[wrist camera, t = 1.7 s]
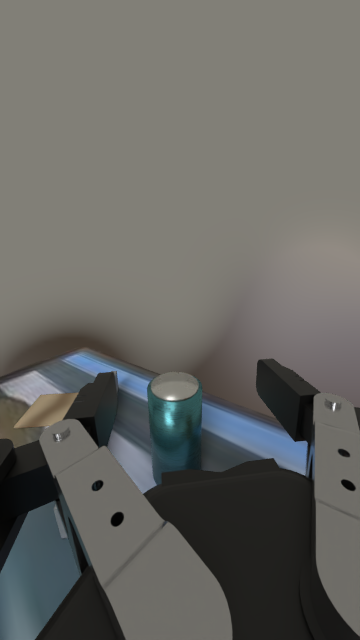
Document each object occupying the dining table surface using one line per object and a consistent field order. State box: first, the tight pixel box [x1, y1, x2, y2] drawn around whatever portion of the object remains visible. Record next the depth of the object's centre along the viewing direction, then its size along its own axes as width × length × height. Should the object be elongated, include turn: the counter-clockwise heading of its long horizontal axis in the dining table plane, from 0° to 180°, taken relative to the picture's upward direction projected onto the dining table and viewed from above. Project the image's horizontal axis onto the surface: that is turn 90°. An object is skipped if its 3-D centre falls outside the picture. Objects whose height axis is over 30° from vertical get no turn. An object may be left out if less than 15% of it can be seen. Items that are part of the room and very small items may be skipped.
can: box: [147, 372, 202, 485], centre depth 26 cm, size 6×6×12 cm
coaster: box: [14, 393, 78, 428], centre depth 38 cm, size 8×8×1 cm
